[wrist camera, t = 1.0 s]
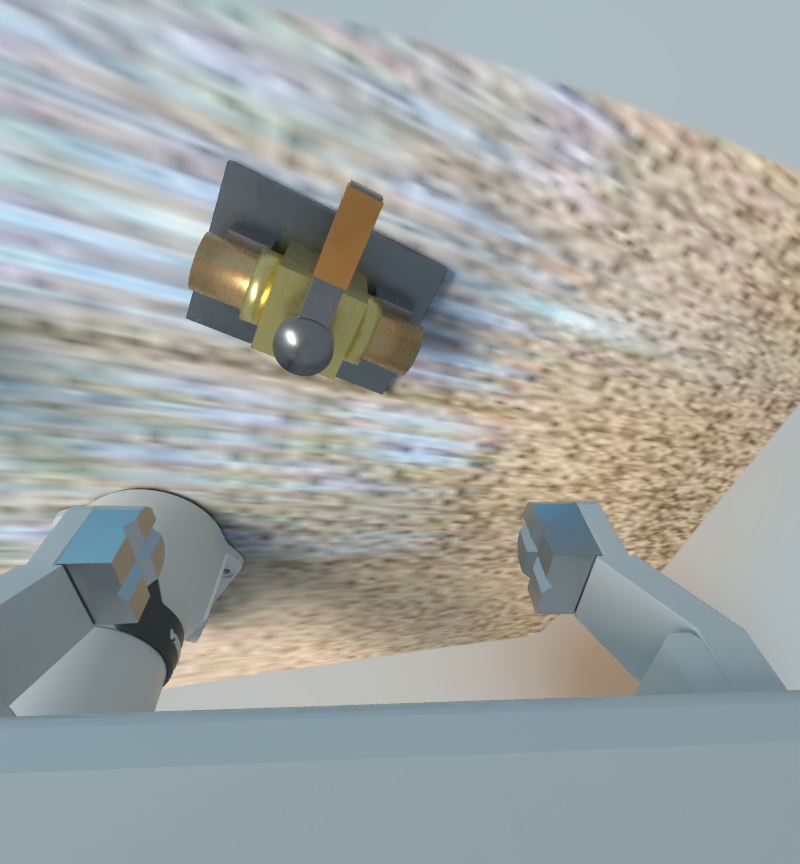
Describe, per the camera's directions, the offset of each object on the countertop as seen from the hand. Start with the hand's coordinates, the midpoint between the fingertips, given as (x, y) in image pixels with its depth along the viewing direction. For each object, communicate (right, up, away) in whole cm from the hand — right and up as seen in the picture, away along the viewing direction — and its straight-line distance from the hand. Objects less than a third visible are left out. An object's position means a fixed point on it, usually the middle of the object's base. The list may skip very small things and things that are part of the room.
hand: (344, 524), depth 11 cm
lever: (-3, +11, +18) cm, 21 cm away
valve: (-5, +13, +28) cm, 31 cm away
